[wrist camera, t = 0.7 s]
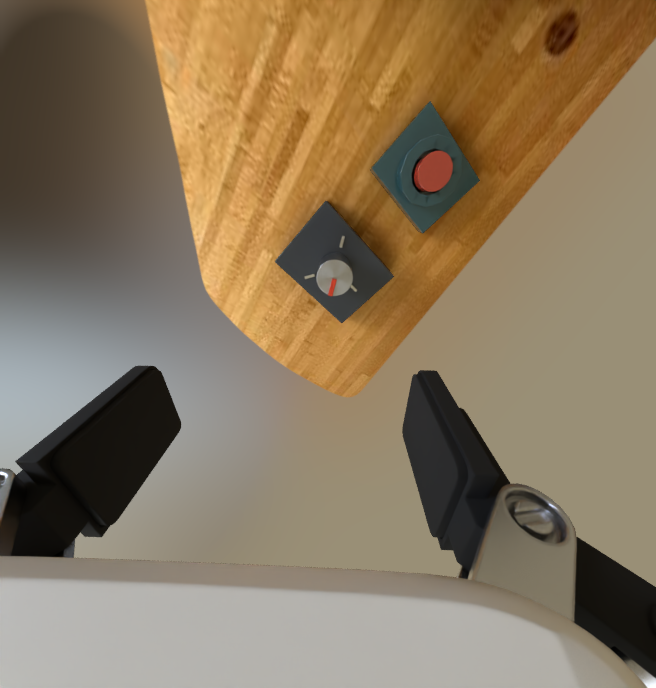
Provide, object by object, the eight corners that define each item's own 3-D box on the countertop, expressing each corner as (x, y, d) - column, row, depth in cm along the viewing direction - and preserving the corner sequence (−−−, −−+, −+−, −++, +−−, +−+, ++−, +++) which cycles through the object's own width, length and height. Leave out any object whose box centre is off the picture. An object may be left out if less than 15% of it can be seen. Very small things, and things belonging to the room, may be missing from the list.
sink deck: (278, 257, 37) (274, 261, 34) (326, 200, 33) (325, 200, 30) (341, 315, 41) (341, 324, 38) (390, 271, 37) (394, 276, 34)
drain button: (406, 173, 28) (410, 172, 27) (434, 144, 27) (440, 141, 25) (425, 199, 29) (430, 199, 28) (453, 172, 28) (459, 171, 26)
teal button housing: (369, 169, 31) (373, 166, 28) (423, 107, 28) (436, 94, 25) (418, 231, 34) (427, 235, 31) (471, 181, 31) (488, 179, 28)
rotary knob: (322, 248, 33) (320, 255, 29) (355, 257, 33) (357, 265, 29) (315, 280, 35) (312, 291, 31) (345, 288, 35) (347, 300, 31)
